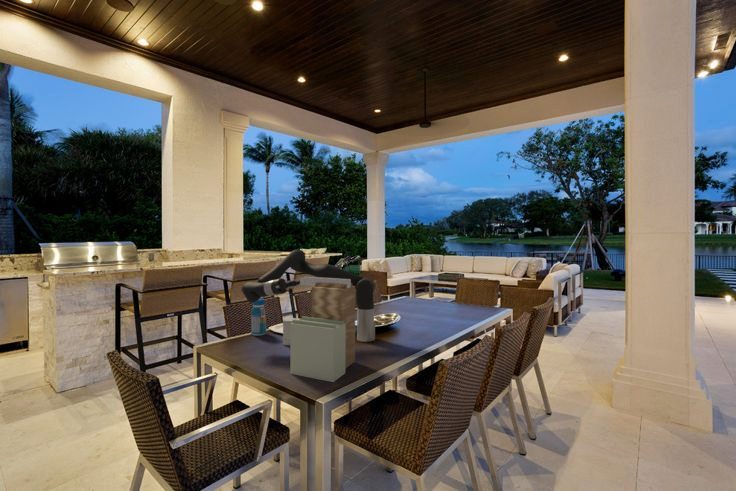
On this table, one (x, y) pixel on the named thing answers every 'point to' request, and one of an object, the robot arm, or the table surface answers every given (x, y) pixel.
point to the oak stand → (337, 311)
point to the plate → (277, 328)
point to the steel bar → (324, 281)
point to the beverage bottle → (258, 318)
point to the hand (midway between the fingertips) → (302, 282)
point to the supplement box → (287, 330)
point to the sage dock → (318, 348)
